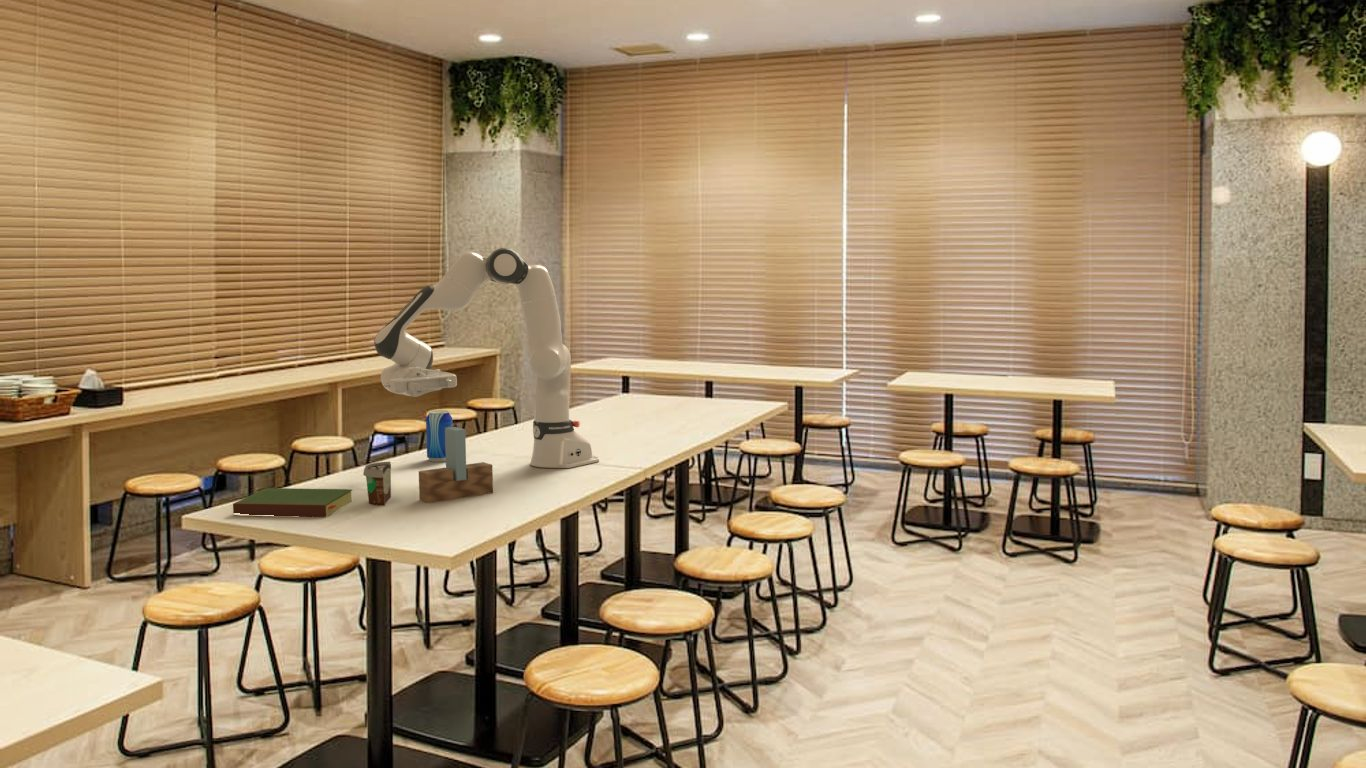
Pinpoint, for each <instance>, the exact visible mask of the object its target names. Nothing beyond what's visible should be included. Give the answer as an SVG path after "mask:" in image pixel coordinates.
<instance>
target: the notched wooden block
mask: <svg viewBox="0 0 1366 768" xmlns="http://www.w3.org/2000/svg"><path fill="white" fill-rule="evenodd" d="M493 472H494V471H493V464H492V463H487V462H483V461H482V462H476V463H475V462H474V463H466V479H467V480H460V481H455V480H453V470H451V469H447V468H446V467H440V468H439V467H438V468H434V469H425V470H418V493H419V494H418V495H419V501H421V502H425V503H427V504H430V503H436V502H442V501H450V500H456V499H461V498H469V497H473V496H474V497H475V496H479V495H481V496H482V495H486V494H487V495H488V494H492V493H494V484H493V483H494V481H493V479H494V477H493Z"/></svg>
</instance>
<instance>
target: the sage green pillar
mask: <svg viewBox="0 0 1366 768" xmlns="http://www.w3.org/2000/svg"><path fill="white" fill-rule="evenodd" d="M466 449H467V448H466V429H465V428H462V427H456V426H453V427H449V428H445V450H446V461H445V468H447V469H451V470H453V480H455V481H460V480H467V479H466V465H467V450H466Z"/></svg>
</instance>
